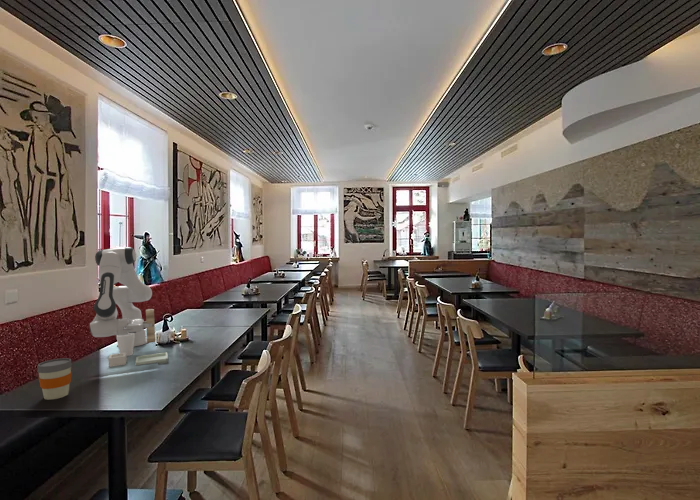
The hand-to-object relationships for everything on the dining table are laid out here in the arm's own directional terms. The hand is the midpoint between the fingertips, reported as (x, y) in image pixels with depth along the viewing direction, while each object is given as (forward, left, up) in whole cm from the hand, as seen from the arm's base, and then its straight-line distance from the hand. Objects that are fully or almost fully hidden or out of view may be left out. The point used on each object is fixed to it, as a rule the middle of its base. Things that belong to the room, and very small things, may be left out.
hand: (152, 323), depth 234 cm
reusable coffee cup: (+36, -39, -21) cm, 57 cm away
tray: (0, -1, -21) cm, 21 cm away
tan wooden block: (0, -1, -10) cm, 10 cm away
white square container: (-2, -18, -21) cm, 28 cm away
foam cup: (-20, -15, -21) cm, 33 cm away
